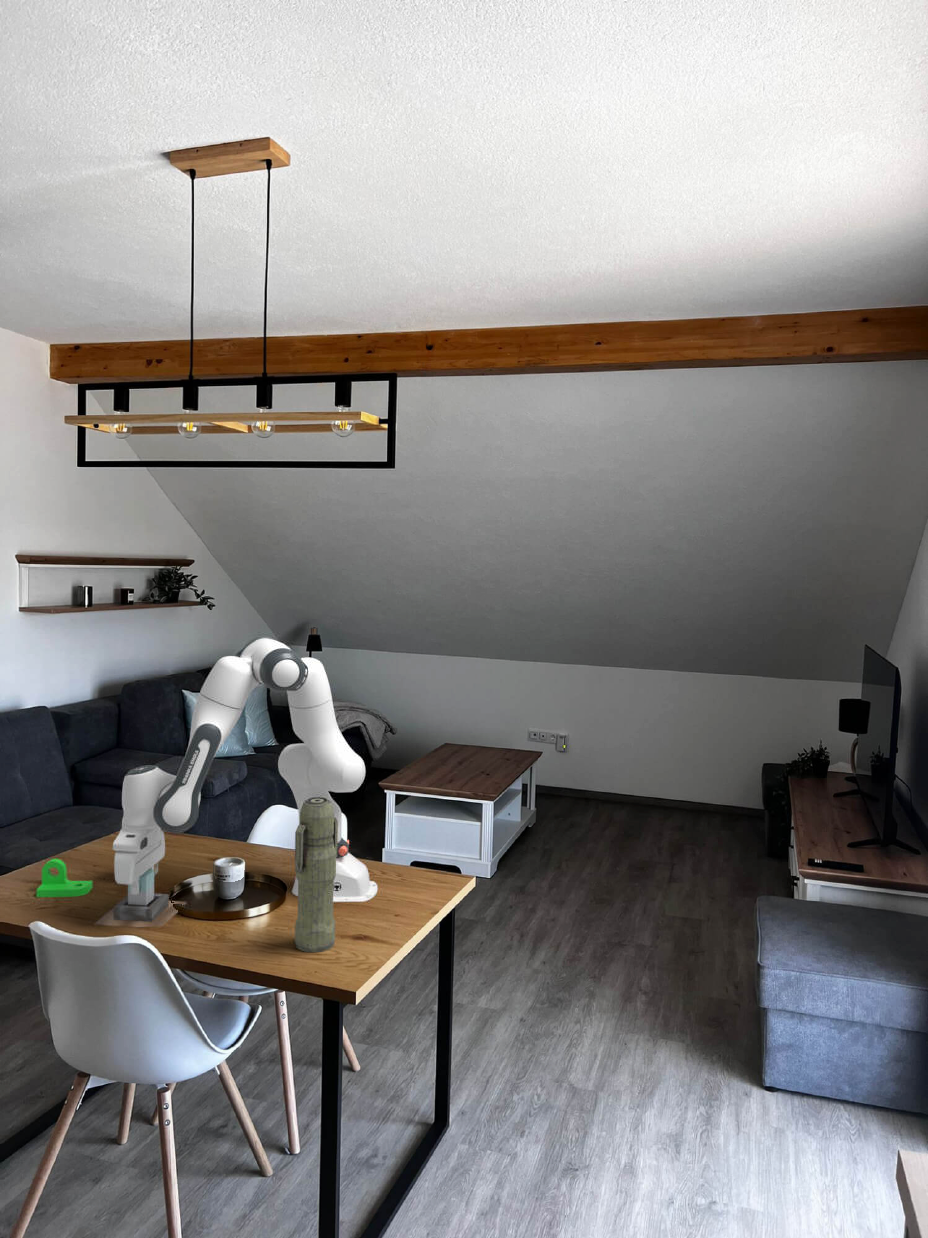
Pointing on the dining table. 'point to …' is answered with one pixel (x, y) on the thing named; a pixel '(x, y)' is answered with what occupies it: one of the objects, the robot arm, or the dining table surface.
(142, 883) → the pale teal block
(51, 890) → the mechanical part
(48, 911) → the dining table surface
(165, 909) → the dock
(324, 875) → the thermos
